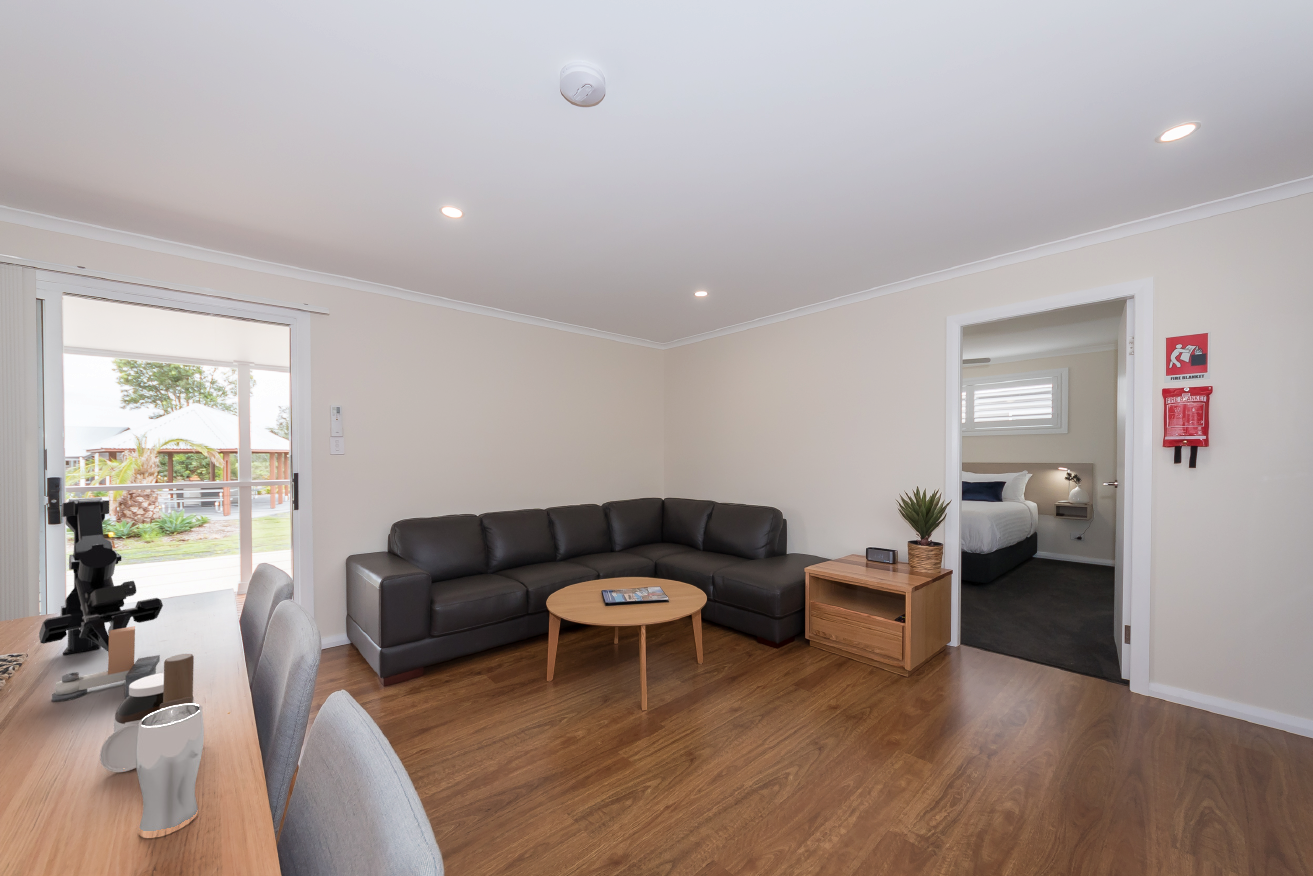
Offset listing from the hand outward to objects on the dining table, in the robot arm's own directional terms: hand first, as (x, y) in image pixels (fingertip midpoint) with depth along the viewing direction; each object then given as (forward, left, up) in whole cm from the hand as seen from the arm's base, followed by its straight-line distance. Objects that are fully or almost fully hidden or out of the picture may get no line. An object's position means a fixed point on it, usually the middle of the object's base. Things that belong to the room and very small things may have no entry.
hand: (112, 650), depth 116 cm
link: (+2, 0, -6) cm, 6 cm away
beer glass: (+66, +13, -7) cm, 68 cm away
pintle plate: (+2, -6, -7) cm, 10 cm away
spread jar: (+41, +9, -8) cm, 43 cm away
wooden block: (+53, +13, -8) cm, 55 cm away
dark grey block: (+7, +5, -7) cm, 11 cm away
